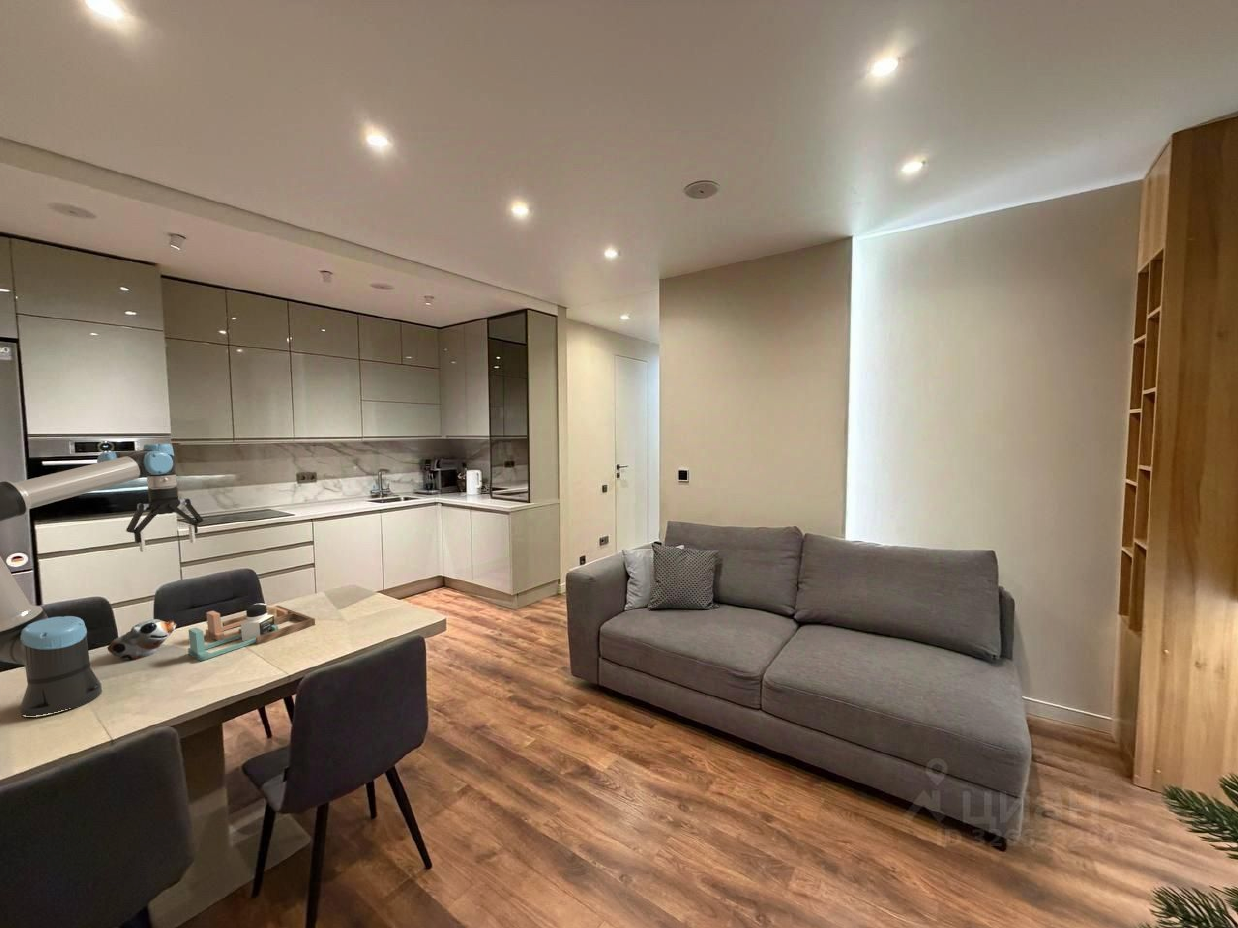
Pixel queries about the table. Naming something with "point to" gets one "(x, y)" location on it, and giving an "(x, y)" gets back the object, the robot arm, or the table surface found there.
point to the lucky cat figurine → (141, 639)
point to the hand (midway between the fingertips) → (168, 546)
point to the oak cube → (271, 611)
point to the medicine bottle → (256, 622)
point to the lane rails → (304, 623)
